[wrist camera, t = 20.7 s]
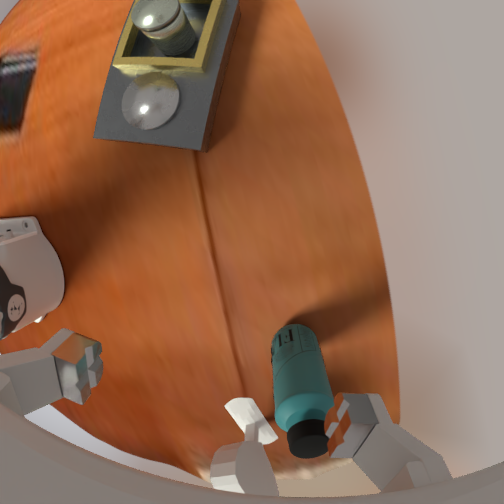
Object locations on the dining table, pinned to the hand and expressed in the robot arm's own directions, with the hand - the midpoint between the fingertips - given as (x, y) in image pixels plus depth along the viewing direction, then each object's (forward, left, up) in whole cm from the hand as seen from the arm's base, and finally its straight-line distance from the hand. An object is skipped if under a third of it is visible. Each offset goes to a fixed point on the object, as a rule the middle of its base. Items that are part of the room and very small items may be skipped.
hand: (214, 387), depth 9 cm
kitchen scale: (-14, +18, -29) cm, 37 cm away
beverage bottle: (+9, -14, -29) cm, 34 cm away
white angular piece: (+7, -33, -29) cm, 45 cm away
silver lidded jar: (-14, +22, -28) cm, 38 cm away
